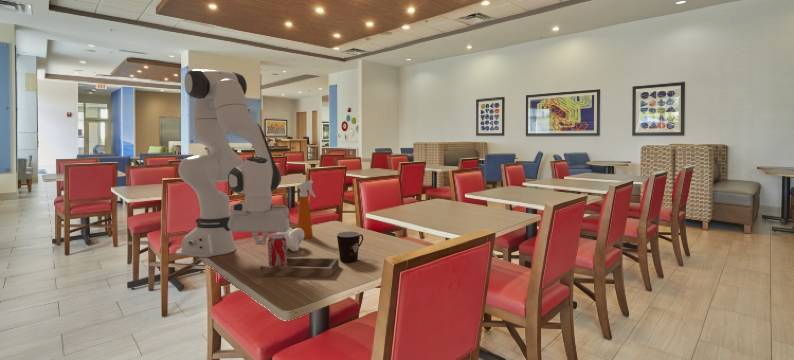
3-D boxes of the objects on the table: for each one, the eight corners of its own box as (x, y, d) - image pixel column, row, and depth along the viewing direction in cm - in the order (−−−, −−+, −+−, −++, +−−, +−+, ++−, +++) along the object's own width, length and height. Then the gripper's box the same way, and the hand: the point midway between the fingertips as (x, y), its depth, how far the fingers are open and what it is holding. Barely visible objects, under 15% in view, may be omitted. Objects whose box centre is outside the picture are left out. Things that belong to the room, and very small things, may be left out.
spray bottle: (311, 240, 186) (309, 181, 184) (293, 237, 192) (291, 180, 189) (322, 237, 192) (320, 180, 189) (304, 234, 198) (303, 178, 195)
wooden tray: (260, 275, 140) (260, 266, 140) (273, 265, 151) (272, 256, 151) (331, 277, 138) (330, 268, 138) (338, 266, 149) (338, 258, 149)
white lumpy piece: (267, 252, 168) (266, 230, 167) (284, 245, 179) (283, 224, 178) (292, 254, 164) (291, 232, 163) (307, 247, 176) (307, 226, 175)
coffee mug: (342, 265, 151) (341, 238, 150) (334, 258, 158) (333, 233, 157) (371, 260, 156) (371, 234, 155) (362, 254, 164) (362, 229, 163)
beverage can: (282, 273, 142) (281, 239, 140) (265, 272, 143) (264, 238, 142) (290, 268, 148) (289, 234, 146) (274, 267, 149) (273, 234, 148)
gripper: (291, 203, 145) (293, 242, 147) (234, 202, 147) (236, 241, 149) (285, 206, 139) (286, 246, 141) (226, 205, 141) (228, 246, 142)
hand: (260, 244), depth 145 cm, fingers closed
